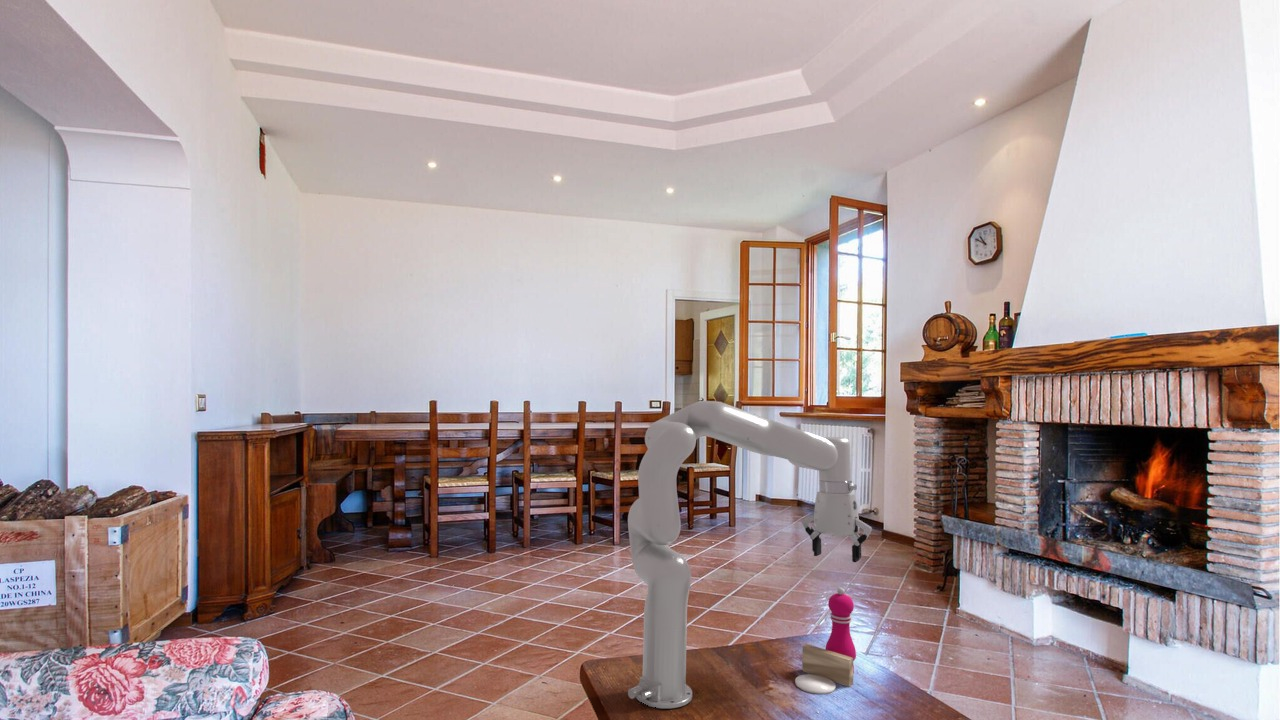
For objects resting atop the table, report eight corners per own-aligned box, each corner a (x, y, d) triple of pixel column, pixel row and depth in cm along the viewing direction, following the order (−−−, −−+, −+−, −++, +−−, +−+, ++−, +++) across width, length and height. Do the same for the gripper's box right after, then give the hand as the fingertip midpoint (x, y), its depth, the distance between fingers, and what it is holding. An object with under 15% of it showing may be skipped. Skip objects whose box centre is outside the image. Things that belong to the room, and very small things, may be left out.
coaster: (824, 697, 144) (824, 695, 144) (788, 685, 150) (788, 682, 150) (842, 685, 151) (842, 682, 151) (806, 673, 157) (806, 671, 157)
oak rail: (849, 686, 150) (849, 660, 151) (802, 671, 158) (802, 645, 159) (853, 684, 152) (853, 657, 152) (806, 668, 160) (806, 643, 160)
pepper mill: (844, 679, 154) (845, 593, 155) (819, 669, 160) (819, 586, 161) (861, 672, 159) (862, 588, 160) (836, 662, 164) (836, 581, 165)
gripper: (875, 488, 158) (877, 560, 157) (808, 483, 168) (809, 550, 168) (865, 492, 152) (866, 567, 151) (795, 486, 162) (796, 555, 162)
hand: (836, 558), depth 159 cm, fingers open, 9 cm apart
